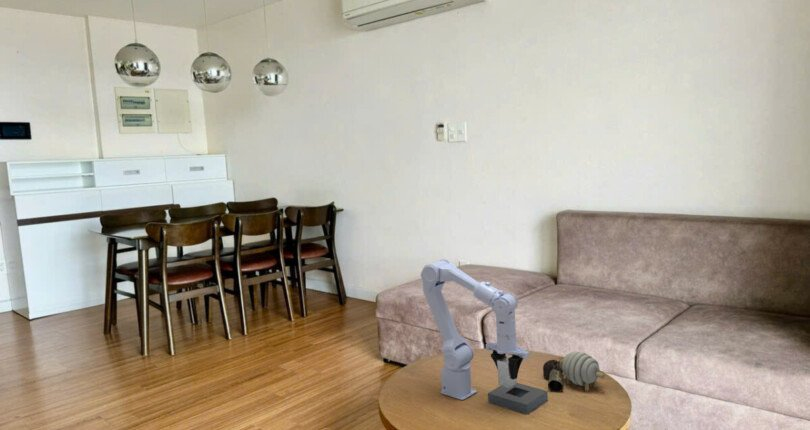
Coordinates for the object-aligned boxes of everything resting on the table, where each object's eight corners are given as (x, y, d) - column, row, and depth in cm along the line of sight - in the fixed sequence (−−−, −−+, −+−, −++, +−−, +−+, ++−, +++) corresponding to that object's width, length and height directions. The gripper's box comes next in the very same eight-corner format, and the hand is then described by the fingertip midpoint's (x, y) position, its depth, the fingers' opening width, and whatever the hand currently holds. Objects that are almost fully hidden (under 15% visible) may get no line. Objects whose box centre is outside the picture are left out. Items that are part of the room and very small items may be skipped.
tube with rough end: (563, 393, 180) (562, 376, 179) (542, 392, 182) (541, 375, 181) (564, 371, 197) (563, 356, 196) (544, 371, 199) (543, 355, 198)
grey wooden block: (498, 385, 172) (497, 360, 171) (506, 380, 175) (504, 355, 174) (509, 388, 170) (508, 362, 169) (516, 383, 172) (515, 358, 171)
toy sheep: (569, 374, 194) (568, 343, 192) (614, 388, 181) (614, 355, 180) (550, 384, 187) (549, 351, 186) (596, 399, 174) (595, 364, 173)
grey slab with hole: (488, 402, 176) (487, 393, 176) (509, 389, 185) (509, 380, 184) (527, 414, 166) (527, 404, 166) (547, 400, 175) (547, 391, 175)
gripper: (479, 333, 173) (481, 375, 175) (519, 341, 163) (521, 386, 164) (492, 327, 178) (494, 368, 180) (532, 335, 168) (534, 378, 169)
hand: (508, 376), depth 172 cm, fingers closed on grey wooden block, 4 cm apart
